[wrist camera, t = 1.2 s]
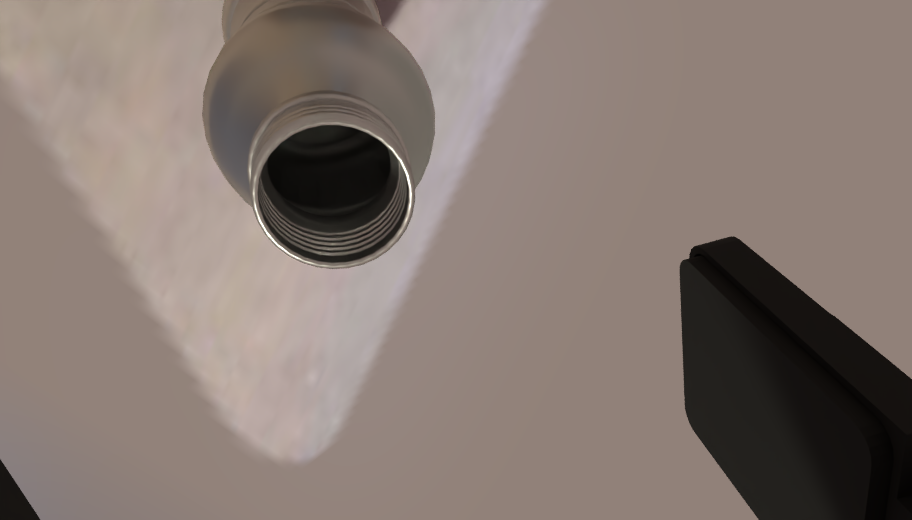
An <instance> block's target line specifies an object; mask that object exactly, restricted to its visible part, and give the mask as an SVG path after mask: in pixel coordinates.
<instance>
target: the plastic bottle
mask: <svg viewBox="0 0 912 520" xmlns="http://www.w3.org/2000/svg"><path fill="white" fill-rule="evenodd" d="M222 30H223V37H224V42H225V44H224V46H223V48H222V50H221V51H220V53H219V55H218V57H217V59H216V61H215V62H214V64H213V66H212V68H211V70H210V72H209V76H208V79H207V83H206V86H205V90H204V95H203V112H202V117H203V123H204V130H205V136H206V140H207V143H208V145H209V148H210V151H211V153H212V156H213V159H214V161H215V162H216V164H217V165H218V167H219V169H220V170H221V172H222V174H223V175H224V177H225V179H226V180H227V181H228V182H229V184H230V185H231V186H232V187H233V188H234V190H235V191H236V192H237V193H238V194H239V195H240V196H241V197H242V198H243V200H244V201H245V202H246V203H248V204H249V205H250V206H251V207H253V210H254V213H255V216H256V219H257V221H258V223H259V225H260V226H261V228H262V230H263V231H264V233H265V235H266V236H267V237H268V238H269V239H270V240H271V241H272V243H273V244H274V245H275V246H276V247H277V248H279V249H280V250H281V251H283V252H284V253H285V254H287V255H288V256H290V257H292V258H294V259H296V260H298V261H300V262H302V263H305V264H308V265H312V266H315V267H320V268H329V269H340V268H350V267H354V266H359V265H363V264H365V263H367V262H370V261H372V260H374V259H376V258H378V257H379V256H381V255H382V254H384V253H385V252H387V251H388V250H389V249H390V248H391V247H392V246H393V245H394V244H395V243H396V242H398V241H399V239H400V238H401V236H402V235H403V233H404V232H405V230H406V229H407V226H408V224H409V222H410V219H411V217H412V213H413V208H414V203H415V188H416V187H417V185H418V184H419V182H420V181H421V179H422V177H423V174H424V172H425V169H426V167H427V165H428V162H429V159H430V155H431V151H432V145H433V140H434V135H435V110H434V105H433V100H432V95H431V91H430V88H429V86H428V83H427V81H426V79H425V76H424V74H423V71H422V69H421V68H420V66H419V65H418V63H417V62H416V60H415V59H414V57H413V56H412V54H411V53H410V51H409V50H408V49H407V48H406V47H405V46H404V45H403V44H402V43H401V42H400V41H399V40H398V39H397V38H396V37H395V36H394V35H393V34H392V33H391V32H389V31H388V30H387V29H386V28H385V27H383V26H382V23H381V19H380V14H379V10H378V7H377V5H376V3H375V0H225V1H224V4H223V10H222Z"/></svg>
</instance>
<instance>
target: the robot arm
mask: <svg viewBox="0 0 912 520" xmlns="http://www.w3.org/2000/svg"><path fill="white" fill-rule="evenodd" d="M680 292H681V317H682V344H683V369H684V395H685V410H686V414H687V417H688V420H689V423H690V425H691V427H692V429H693V430H694V432H695V433H696V435H697V436H698V437H699V439H700V440H701V441H702V443H703V444H704V445H705V447H706V448H707V450H708V451H709V452H710V454H711V455H712V456H713V458H714V459H715V460H716V462H717V463H718V465H719V466H720V467H721V469H722V470H723V471H724V473H725V474H726V476H727V477H728V478H729V479H730V481H731V482H732V484H733V485H734V486H735V488H736V489H737V490H738V492H739V493H740V495H741V496H742V497H743V499H744V500H745V501H746V503H747V504H748V506H749V507H750V508H751V509H752V511H753V512H754V514H755V515H756V516H757V518H758V519H759V520H912V379H911V378H910V377H908V376H907V375H906V374H905V373H903V372H902V371H901V370H900V369H899V368H897V367H896V366H895V365H893V364H892V363H891V362H890V361H889V360H888V359H886V358H885V357H884V356H883V355H881V354H880V353H879V352H878V351H876V350H875V349H874V348H873V347H872V346H870V345H869V344H868V343H867V342H865V341H864V340H863V339H862V338H861V337H859V336H858V335H857V334H855V333H854V332H853V331H852V330H851V329H849V328H848V327H847V326H846V325H845V324H843V323H842V322H841V321H840V320H839V319H837V318H836V317H835V316H833V315H831V314H830V313H829V312H827V311H826V310H825V309H824V308H822V307H821V306H820V305H819V304H818V303H816V302H815V301H814V300H813V299H812V298H810V297H809V296H808V295H807V294H805V293H804V292H803V291H802V290H801V289H799V288H798V287H797V286H796V285H794V284H793V283H792V282H791V281H790V280H788V279H787V278H786V277H785V276H783V275H782V274H781V273H780V272H779V271H777V270H776V269H775V268H774V267H772V266H771V265H770V264H769V263H767V262H766V261H765V260H764V259H763V258H761V257H760V256H759V255H758V254H757V253H755V252H754V251H753V250H752V249H750V248H749V247H748V246H747V245H746V244H744V243H743V242H742V241H741V240H739V239H738V238H736V237H727V238H724V239H720V240H716V241H713V242H709V243H705V244H702V245H698V246H694V247H693V248H692V249H691V252H690V258H689V259H686V260H683V261H682V262H681V265H680ZM0 520H40V519H39V517H38V515H37V514H36V512H35V511H34V509H33V508H32V507H31V505H30V504H29V502H28V500H27V499H26V497H25V496H24V494H23V493H22V491H21V490H20V488H19V487H18V485H17V484H16V482H15V481H14V479H13V478H12V476H11V475H10V473H9V472H8V470H7V469H6V467H5V466H4V464H3V463H2V461H1V460H0Z"/></svg>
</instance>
